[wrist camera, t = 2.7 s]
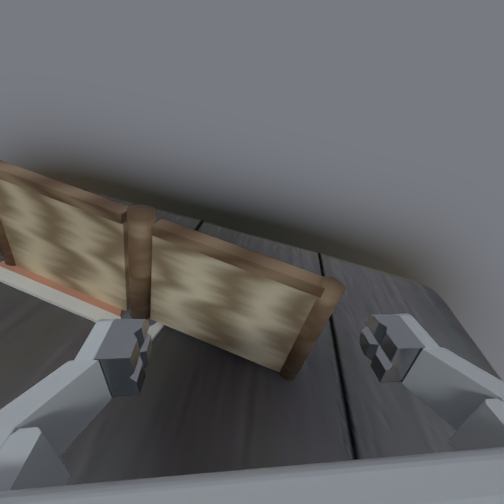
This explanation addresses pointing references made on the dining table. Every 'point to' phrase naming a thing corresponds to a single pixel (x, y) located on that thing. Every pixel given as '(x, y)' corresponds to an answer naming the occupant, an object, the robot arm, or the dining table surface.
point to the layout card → (66, 297)
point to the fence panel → (238, 297)
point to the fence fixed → (77, 238)
